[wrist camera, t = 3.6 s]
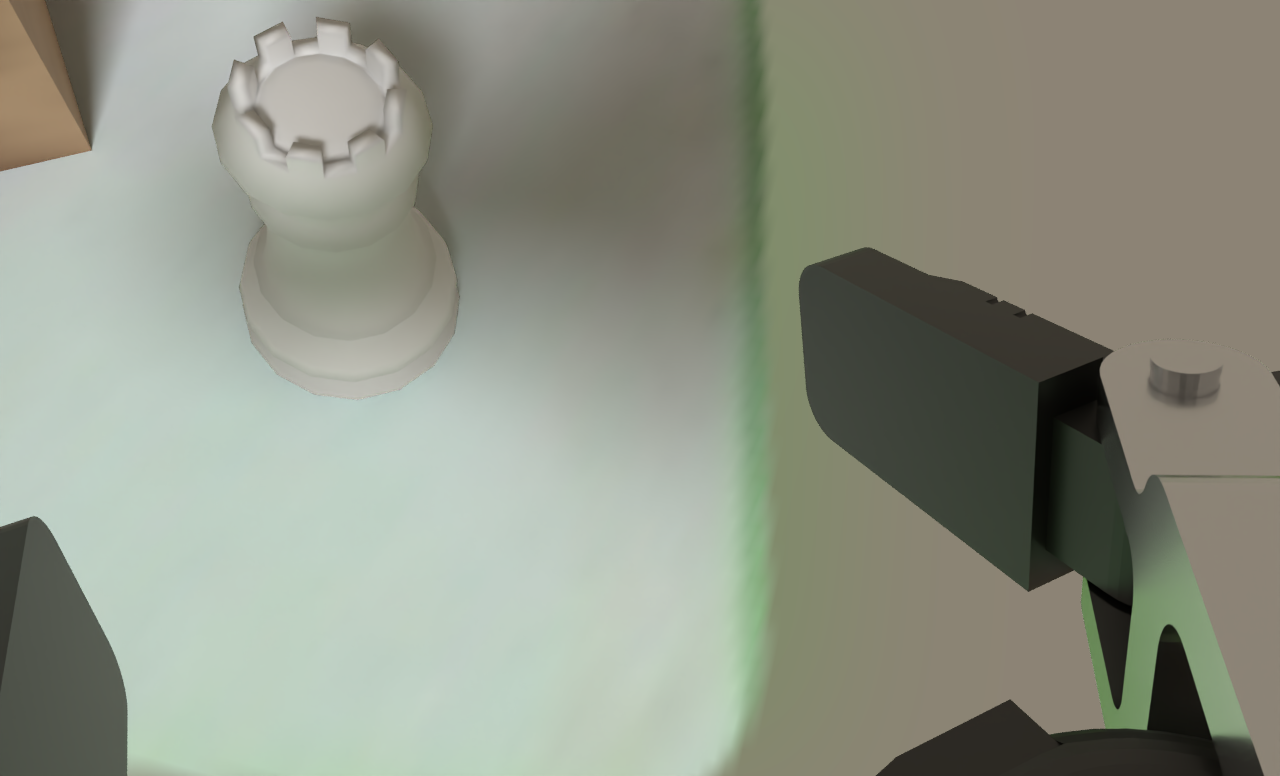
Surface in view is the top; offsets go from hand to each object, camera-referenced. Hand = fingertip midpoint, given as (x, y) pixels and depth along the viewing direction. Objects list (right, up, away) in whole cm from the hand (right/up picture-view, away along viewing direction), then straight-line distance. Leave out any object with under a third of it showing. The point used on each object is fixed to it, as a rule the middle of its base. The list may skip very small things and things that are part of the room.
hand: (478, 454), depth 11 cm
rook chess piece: (-5, +2, +12) cm, 13 cm away
